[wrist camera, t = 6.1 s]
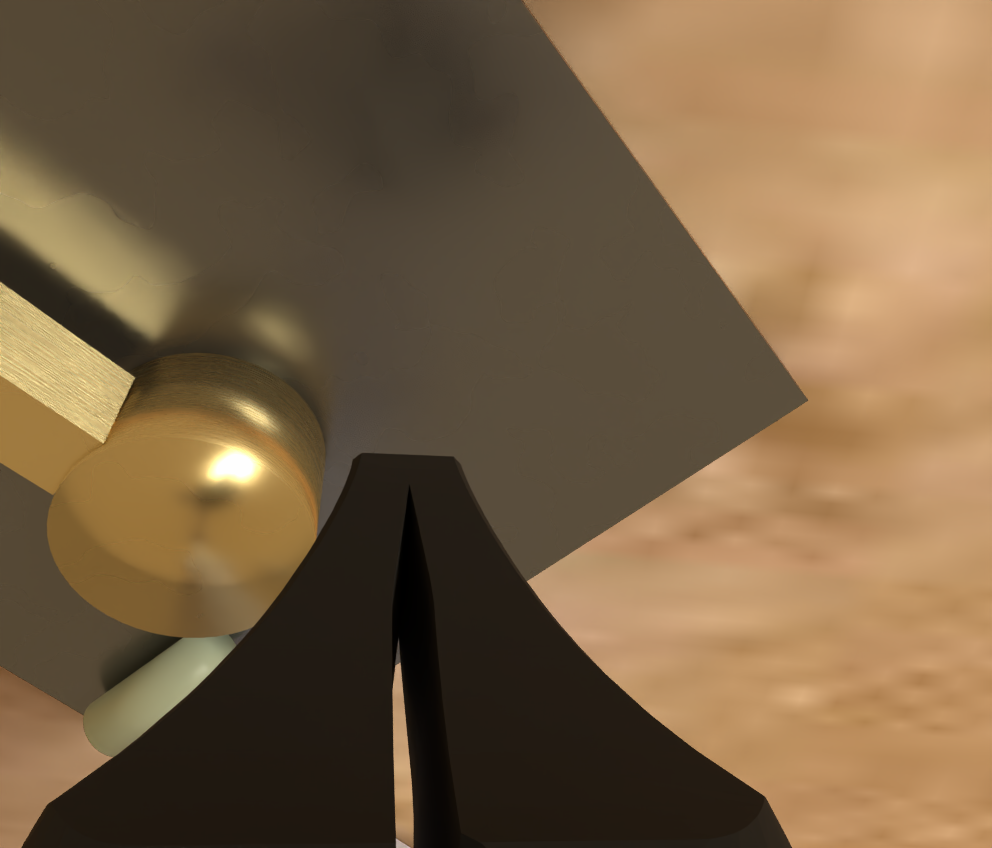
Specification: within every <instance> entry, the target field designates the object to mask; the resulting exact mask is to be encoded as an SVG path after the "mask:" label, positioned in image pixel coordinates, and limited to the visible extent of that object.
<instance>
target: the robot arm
mask: <svg viewBox="0 0 992 848" xmlns="http://www.w3.org/2000/svg"><path fill="white" fill-rule="evenodd" d="M398 638H399V650H400V661H401V672H402V682H403V693H404V704H405V715H406V725H407V736H408V746H409V757H410V768H411V778H412V793H413V813H414V848H792V847H791V845H790V843H789V841H788V839H787V837H786V835H785V833H784V831H783V829H782V827H781V826H780V824H779V822H778V820H777V818H776V816H775V814H774V812H773V810H772V809H771V807H770V805H769V803H768V801H767V799H766V798H765V796H763V795H762V794H760V793H759V792H757V791H756V790H754V789H753V788H751V787H750V786H748V785H747V784H745V783H744V782H742V781H741V780H739V779H738V778H736V777H735V776H733V775H732V774H730V773H729V772H727V771H726V770H724V769H723V768H721V767H720V766H719V765H717V764H716V763H714V762H713V761H711V760H710V759H708V758H707V757H705V756H704V755H702V754H701V753H699V752H698V751H696V750H695V749H694V748H692V747H691V746H690V745H688V744H687V743H686V742H684V741H683V740H682V739H681V738H679V737H678V736H677V735H675V734H674V733H673V732H672V731H670V730H669V729H668V728H667V727H665V726H664V725H663V724H661V723H660V722H659V721H658V720H656V719H655V718H654V717H653V716H651V715H650V714H649V713H648V712H647V711H646V710H644V709H643V708H642V707H641V706H640V705H639V704H638V703H637V702H636V701H635V700H633V699H632V698H631V697H630V696H629V695H628V694H627V693H626V692H625V691H624V690H622V689H621V688H620V687H619V686H618V685H617V684H616V683H615V682H614V681H613V680H611V679H610V678H609V677H608V676H607V675H606V674H605V673H604V672H603V671H602V670H601V669H600V668H599V667H598V666H597V665H596V664H595V663H594V662H593V661H592V660H591V659H590V658H589V656H588V655H587V654H586V653H585V652H584V651H583V650H582V649H581V648H580V647H579V646H578V645H577V644H576V642H575V641H574V640H573V639H572V638H571V637H570V636H569V635H568V633H567V632H566V631H565V630H564V629H563V628H562V627H561V625H560V624H559V623H558V622H557V620H556V619H555V618H554V617H553V616H552V614H551V613H550V612H549V611H548V609H547V608H546V607H545V605H544V604H543V603H542V602H541V600H540V599H539V598H538V596H537V595H536V594H535V592H534V591H533V589H532V588H531V587H530V585H529V584H528V583H527V581H526V580H525V579H524V577H523V576H522V574H521V573H520V571H519V570H518V568H517V567H516V565H515V564H514V562H513V561H512V559H511V558H510V556H509V555H508V553H507V551H506V550H505V548H504V547H503V545H502V543H501V542H500V540H499V539H498V537H497V535H496V534H495V532H494V531H493V529H492V527H491V525H490V524H489V522H488V520H487V518H486V517H485V515H484V513H483V511H482V509H481V507H480V505H479V504H478V502H477V500H476V498H475V496H474V494H473V492H472V490H471V488H470V485H469V483H468V481H467V479H466V476H465V474H464V472H463V469H462V466H461V464H460V463H459V462H458V461H457V460H456V458H455V457H454V456H432V455H407V454H382V453H361V454H359V455H358V456H357V457H355V458H354V459H353V460H352V465H351V469H350V472H349V475H348V478H347V480H346V483H345V485H344V488H343V490H342V492H341V494H340V496H339V498H338V500H337V502H336V504H335V506H334V509H333V511H332V512H331V514H330V516H329V518H328V520H327V521H326V523H325V525H324V526H323V528H322V530H321V532H320V533H319V535H318V537H317V539H316V540H315V542H314V544H313V546H312V547H311V549H310V550H309V552H308V553H307V555H306V556H305V558H304V559H303V561H302V562H301V564H300V565H299V567H298V568H297V569H296V571H295V572H294V574H293V575H292V577H291V578H290V580H289V581H288V583H287V584H286V585H285V587H284V588H283V590H282V591H281V592H280V594H279V595H278V596H277V598H276V599H275V600H274V602H273V603H272V604H271V605H270V607H269V608H268V609H267V611H266V612H265V613H264V614H263V616H262V617H261V618H260V619H259V620H258V622H257V623H256V624H255V625H254V626H253V627H252V629H251V630H250V631H249V632H248V633H247V634H246V636H245V637H244V638H243V639H242V640H241V641H240V642H239V644H238V645H237V646H236V647H235V648H234V649H233V650H232V651H231V652H230V653H229V654H228V655H227V656H226V657H225V658H224V659H223V660H222V661H221V662H220V663H219V665H218V666H217V667H216V668H215V669H214V670H213V671H212V672H211V673H210V674H209V675H208V676H207V677H206V678H205V679H204V680H203V681H202V682H201V683H200V684H199V685H198V686H197V687H196V688H195V689H194V690H192V691H191V692H190V693H189V694H188V695H187V696H186V697H185V698H184V699H183V700H181V701H180V702H179V703H178V704H177V705H176V706H174V707H173V708H172V709H171V710H170V711H169V712H168V713H166V714H165V715H164V716H163V717H162V718H161V719H159V720H158V721H157V722H156V723H155V724H154V725H152V726H151V727H150V728H149V729H148V730H147V731H146V732H144V733H143V734H142V735H141V736H140V737H139V738H137V739H136V740H135V741H134V742H132V743H131V744H130V745H129V746H127V747H126V748H125V749H124V750H122V751H121V752H120V753H119V754H117V755H116V756H114V757H113V758H112V759H110V760H109V761H107V762H106V763H105V764H103V765H102V766H101V767H99V768H98V769H96V770H95V771H94V772H92V773H91V774H90V775H88V776H87V777H85V778H84V779H83V780H81V781H80V782H79V783H77V784H76V785H74V786H73V787H72V788H70V789H69V790H68V791H66V792H65V793H63V794H62V795H61V796H59V797H58V798H56V799H55V800H53V801H52V802H50V803H49V804H48V805H47V806H46V808H45V809H44V811H43V812H42V814H41V816H40V817H39V819H38V820H37V822H36V824H35V825H34V827H33V829H32V830H31V832H30V834H29V836H28V837H27V839H26V841H25V842H24V844H23V846H22V848H410V847H409V846H407V845H405V844H404V843H402V842H401V841H399V840H398V839H396V828H395V797H394V760H393V702H392V689H393V680H394V672H395V664H396V655H397V647H398Z"/></svg>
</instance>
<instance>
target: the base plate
mask: <svg viewBox="0 0 992 848" xmlns="http://www.w3.org/2000/svg"><path fill="white" fill-rule="evenodd" d="M0 282H1V283H2V284H4V285H5V286H7V287H8V288H9V289H11V290H12V291H14V292H15V293H16V294H18V295H19V296H21V297H22V298H24V299H25V300H26V301H28V302H29V303H31V304H32V305H33V306H35V307H36V308H38V309H39V310H40V311H42V312H43V313H45V314H46V315H47V316H49V317H50V318H52V319H53V320H55V321H56V322H57V323H59V324H60V325H62V326H63V327H64V328H66V329H67V330H69V331H70V332H71V333H73V334H74V335H76V336H77V337H78V338H80V339H81V340H83V341H84V342H86V343H87V344H88V345H90V346H91V347H93V348H94V349H95V350H97V351H98V352H100V353H101V354H102V355H104V356H105V357H107V358H108V359H110V360H111V361H112V362H114V363H115V364H117V365H118V366H119V367H121V368H122V369H124V370H125V371H126V372H128V373H129V372H130V371H132V370H134V369H135V368H137V367H139V366H141V365H143V364H145V363H147V362H149V361H152V360H155V359H158V358H161V357H165V356H170V355H175V354H182V353H214V354H220V355H226V356H231V357H235V358H238V359H242V360H245V361H248V362H250V363H253V364H255V365H258V366H260V367H262V368H264V369H266V370H268V371H269V372H271V373H273V374H275V375H276V376H278V377H279V378H281V379H282V380H283V381H285V382H286V383H287V384H288V385H290V386H291V387H292V388H293V389H294V390H295V391H296V392H297V393H298V394H299V395H300V396H301V397H302V398H303V399H304V400H305V402H306V403H307V404H308V406H309V407H310V409H311V410H312V412H313V413H314V415H315V417H316V419H317V421H318V423H319V425H320V428H321V431H322V434H323V437H324V443H325V469H324V478H323V486H322V495H321V503H320V511H319V520H318V528H317V537H318V535H319V533H320V532H321V530H322V528H323V526H324V525H325V523H326V521H327V520H328V518H329V516H330V514H331V512H332V511H333V509H334V506H335V504H336V502H337V500H338V498H339V496H340V494H341V492H342V490H343V488H344V485H345V483H346V480H347V478H348V475H349V472H350V469H351V465H352V460H353V459H354V458H355V457H357V456H358V455H359V454H361V453H382V454H407V455H432V456H454V457H455V458H456V460H457V461H458V462H459V463H460V464H461V466H462V469H463V472H464V474H465V476H466V479H467V481H468V483H469V485H470V488H471V490H472V492H473V494H474V496H475V498H476V500H477V502H478V504H479V505H480V507H481V509H482V511H483V513H484V515H485V517H486V518H487V520H488V522H489V524H490V525H491V527H492V529H493V531H494V532H495V534H496V535H497V537H498V539H499V540H500V542H501V543H502V545H503V547H504V548H505V550H506V551H507V553H508V555H509V556H510V558H511V559H512V561H513V562H514V564H515V565H516V567H517V568H518V570H519V571H520V573H521V574H522V576H523V577H524V579H525V580H526V581H528V580H529V579H531V578H532V577H534V576H536V575H537V574H539V573H540V572H542V571H543V570H545V569H546V568H548V567H550V566H551V565H553V564H554V563H556V562H557V561H559V560H560V559H562V558H564V557H565V556H567V555H568V554H570V553H571V552H573V551H575V550H576V549H578V548H579V547H581V546H582V545H584V544H585V543H587V542H589V541H590V540H592V539H593V538H595V537H596V536H598V535H599V534H601V533H603V532H604V531H606V530H607V529H609V528H610V527H612V526H613V525H615V524H617V523H618V522H620V521H621V520H623V519H624V518H626V517H627V516H629V515H631V514H632V513H634V512H635V511H637V510H638V509H640V508H642V507H643V506H645V505H646V504H648V503H649V502H651V501H652V500H654V499H656V498H657V497H659V496H660V495H662V494H663V493H665V492H666V491H668V490H670V489H671V488H673V487H674V486H676V485H677V484H679V483H680V482H682V481H684V480H685V479H687V478H688V477H690V476H691V475H693V474H695V473H696V472H698V471H699V470H701V469H702V468H704V467H705V466H707V465H709V464H710V463H712V462H713V461H715V460H716V459H718V458H719V457H721V456H723V455H724V454H726V453H727V452H729V451H730V450H732V449H733V448H735V447H737V446H738V445H740V444H741V443H743V442H744V441H746V440H748V439H749V438H751V437H752V436H754V435H755V434H757V433H758V432H760V431H762V430H763V429H765V428H766V427H768V426H769V425H771V424H772V423H774V422H776V421H777V420H779V419H780V418H782V417H783V416H785V415H786V414H788V413H790V412H791V411H793V410H794V409H796V408H797V407H799V406H800V405H802V404H804V403H805V402H807V401H808V399H807V398H806V396H805V395H804V394H803V392H802V391H801V389H800V388H799V386H798V385H797V383H796V382H795V381H794V379H793V378H792V376H791V375H790V373H789V372H788V370H787V369H786V368H785V366H784V365H783V363H782V362H781V361H780V359H779V358H778V356H777V355H776V354H775V352H774V351H773V349H772V348H771V347H770V345H769V344H768V342H767V341H766V340H765V338H764V337H763V335H762V334H761V333H760V331H759V330H758V328H757V327H756V326H755V324H754V323H753V322H752V320H751V319H750V317H749V316H748V315H747V313H746V312H745V310H744V309H743V308H742V306H741V305H740V303H739V302H738V301H737V299H736V298H735V296H734V295H733V294H732V292H731V291H730V289H729V288H728V287H727V285H726V284H725V282H724V281H723V280H722V278H721V277H720V275H719V274H718V273H717V271H716V270H715V268H714V267H713V266H712V264H711V263H710V262H709V260H708V259H707V257H706V256H705V255H704V253H703V252H702V250H701V249H700V248H699V246H698V245H697V243H696V242H695V241H694V239H693V238H692V236H691V235H690V234H689V232H688V231H687V229H686V228H685V227H684V225H683V224H682V222H681V221H680V220H679V218H678V217H677V215H676V214H675V213H674V211H673V210H672V208H671V207H670V206H669V204H668V203H667V202H666V200H665V199H664V197H663V196H662V195H661V193H660V192H659V190H658V189H657V188H656V186H655V185H654V183H653V182H652V181H651V179H650V178H649V176H648V175H647V174H646V172H645V171H644V169H643V168H642V167H641V165H640V164H639V162H638V161H637V160H636V158H635V157H634V155H633V154H632V153H631V151H630V150H629V148H628V147H627V146H626V144H625V143H624V142H623V140H622V139H621V137H620V136H619V135H618V133H617V132H616V130H615V129H614V128H613V126H612V125H611V123H610V122H609V121H608V119H607V118H606V116H605V115H604V114H603V112H602V111H601V109H600V108H599V107H598V105H597V104H596V102H595V101H594V100H593V98H592V97H591V95H590V94H589V93H588V91H587V90H586V89H585V87H584V86H583V84H582V83H581V82H580V80H579V79H578V77H577V76H576V75H575V73H574V72H573V70H572V69H571V68H570V66H569V65H568V63H567V62H566V61H565V59H564V58H563V56H562V55H561V54H560V52H559V51H558V49H557V48H556V47H555V45H554V44H553V42H552V41H551V40H550V38H549V37H548V35H547V34H546V33H545V31H544V30H543V29H542V27H541V26H540V24H539V23H538V22H537V20H536V19H535V17H534V16H533V15H532V13H531V12H530V10H529V9H528V8H527V6H526V5H525V3H524V2H523V1H522V0H0ZM55 493H56V492H55ZM55 493H54V494H53V495H52V494H50V493H49V492H47V491H45V490H44V489H42V488H41V487H39V486H37V485H36V484H34V483H32V482H31V481H29V480H28V479H26V478H24V477H23V476H21V475H20V474H18V473H16V472H15V471H13V470H11V469H10V468H8V467H7V466H5V465H3V464H2V463H0V666H1V667H3V668H5V669H6V670H8V671H10V672H12V673H13V674H15V675H17V676H18V677H20V678H22V679H23V680H25V681H27V682H28V683H30V684H32V685H33V686H35V687H37V688H39V689H40V690H42V691H44V692H45V693H47V694H49V695H50V696H52V697H54V698H55V699H57V700H59V701H60V702H62V703H64V704H66V705H67V706H69V707H71V708H72V709H74V710H76V711H77V712H79V713H81V714H82V715H84V717H83V726H84V731H85V734H86V736H87V738H88V740H89V741H90V743H91V744H92V745H93V746H94V747H95V748H96V749H97V750H98V751H99V752H101V753H103V754H105V755H107V756H111V757H114V756H116V755H117V754H119V753H120V752H121V751H122V750H124V749H125V748H126V747H127V746H129V745H130V744H131V743H132V742H134V741H135V740H136V739H137V738H139V737H140V736H141V735H142V734H143V733H144V732H146V731H147V730H148V729H149V728H150V727H151V726H152V725H154V724H155V723H156V722H157V721H158V720H159V719H161V718H162V717H163V716H164V715H165V714H166V713H168V712H169V711H170V710H171V709H172V708H173V707H174V706H176V705H177V704H178V703H179V702H180V701H181V700H183V699H184V698H185V697H186V696H187V695H188V694H189V693H190V692H191V691H192V690H194V689H195V688H196V687H197V686H198V685H199V684H200V683H201V682H202V681H203V680H204V679H205V678H206V677H207V676H208V675H209V674H210V673H211V672H212V671H213V670H214V669H215V668H216V667H217V666H218V665H219V663H220V662H221V661H222V660H223V659H224V658H225V657H226V656H227V655H228V654H229V653H230V652H231V651H232V650H233V649H234V648H235V647H236V646H237V645H238V644H239V642H240V641H241V640H242V639H243V638H244V637H245V636H246V634H247V633H248V632H249V631H250V630H251V629H252V628H250V629H247V630H244V631H240V632H237V633H233V634H228V635H223V636H217V637H205V638H183V637H173V636H166V635H161V634H155V633H151V632H148V631H144V630H141V629H137V628H134V627H132V626H129V625H127V624H124V623H122V622H120V621H118V620H116V619H114V618H112V617H110V616H108V615H106V614H104V613H103V612H101V611H100V610H98V609H97V608H95V607H93V606H92V605H91V604H90V603H88V602H87V601H86V600H85V599H84V598H82V597H81V596H80V595H79V594H78V593H77V592H76V591H75V590H74V589H73V588H72V587H71V586H70V584H69V583H68V582H67V580H66V579H65V578H64V577H63V575H62V574H61V572H60V570H59V568H58V567H57V565H56V563H55V561H54V559H53V556H52V553H51V551H50V547H49V542H48V537H47V518H48V512H49V508H50V505H51V502H52V499H53V497H54V495H55ZM317 537H316V539H317ZM400 662H401V661H400V650H399V638H398V647H397V655H396V664H395V665H397V664H398V663H400Z"/></svg>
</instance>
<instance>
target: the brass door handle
mask: <svg viewBox="0 0 992 848" xmlns="http://www.w3.org/2000/svg"><path fill="white" fill-rule="evenodd" d="M0 463H2V464H3V465H5V466H7V467H8V468H10V469H11V470H13V471H15V472H16V473H18V474H20V475H21V476H23V477H24V478H26V479H28V480H29V481H31V482H32V483H34V484H36V485H37V486H39V487H41V488H42V489H44V490H45V491H47V492H49V493H50V494H52V495H53V494H54V493H55V492H56V493H55V495H54V497H53V499H52V502H51V505H50V508H49V512H48V518H47V537H48V542H49V547H50V551H51V553H52V556H53V559H54V561H55V563H56V565H57V567H58V568H59V570H60V572H61V574H62V575H63V577H64V578H65V579H66V580H67V582H68V583H69V584H70V586H71V587H72V588H73V589H74V590H75V591H76V592H77V593H78V594H79V595H80V596H81V597H82V598H84V599H85V600H86V601H87V602H88V603H90V604H91V605H92V606H93V607H95V608H97V609H98V610H100V611H101V612H103V613H104V614H106V615H108V616H110V617H112V618H114V619H116V620H118V621H120V622H122V623H124V624H127V625H129V626H132V627H134V628H137V629H141V630H144V631H148V632H151V633H155V634H161V635H166V636H173V637H183V638H205V637H217V636H223V635H228V634H233V633H237V632H240V631H244V630H247V629H250V628H252V627H253V626H254V625H255V624H256V623H257V622H258V620H259V619H260V618H261V617H262V616H263V614H264V613H265V612H266V611H267V609H268V608H269V607H270V605H271V604H272V603H273V602H274V600H275V599H276V598H277V596H278V595H279V594H280V592H281V591H282V590H283V588H284V587H285V585H286V584H287V583H288V581H289V580H290V578H291V577H292V575H293V574H294V572H295V571H296V569H297V568H298V567H299V565H300V564H301V562H302V561H303V559H304V558H305V556H306V555H307V553H308V552H309V550H310V549H311V547H312V546H313V544H314V542H315V540H316V537H317V528H318V520H319V511H320V503H321V495H322V486H323V478H324V469H325V443H324V437H323V434H322V431H321V428H320V425H319V423H318V421H317V419H316V417H315V415H314V413H313V412H312V410H311V409H310V407H309V406H308V404H307V403H306V402H305V400H304V399H303V398H302V397H301V396H300V395H299V394H298V393H297V392H296V391H295V390H294V389H293V388H292V387H291V386H290V385H288V384H287V383H286V382H285V381H283V380H282V379H281V378H279V377H278V376H276V375H275V374H273V373H271V372H269V371H268V370H266V369H264V368H262V367H260V366H258V365H255V364H253V363H250V362H248V361H245V360H242V359H238V358H235V357H231V356H226V355H220V354H214V353H182V354H175V355H170V356H165V357H161V358H158V359H155V360H152V361H149V362H147V363H145V364H143V365H141V366H139V367H137V368H135V369H134V370H132V371H130V372H129V373H128V372H126V371H125V370H124V369H122V368H121V367H119V366H118V365H117V364H115V363H114V362H112V361H111V360H110V359H108V358H107V357H105V356H104V355H102V354H101V353H100V352H98V351H97V350H95V349H94V348H93V347H91V346H90V345H88V344H87V343H86V342H84V341H83V340H81V339H80V338H78V337H77V336H76V335H74V334H73V333H71V332H70V331H69V330H67V329H66V328H64V327H63V326H62V325H60V324H59V323H57V322H56V321H55V320H53V319H52V318H50V317H49V316H47V315H46V314H45V313H43V312H42V311H40V310H39V309H38V308H36V307H35V306H33V305H32V304H31V303H29V302H28V301H26V300H25V299H24V298H22V297H21V296H19V295H18V294H16V293H15V292H14V291H12V290H11V289H9V288H8V287H7V286H5V285H4V284H2V283H1V282H0Z"/></svg>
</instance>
